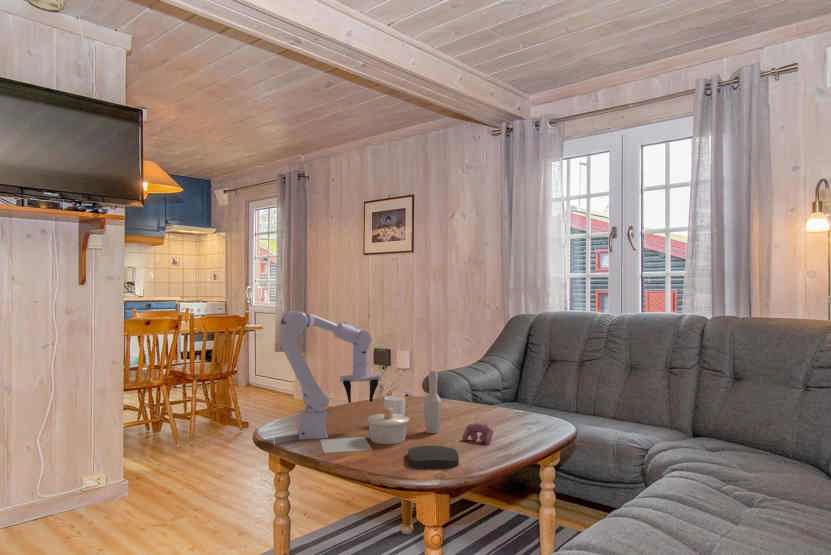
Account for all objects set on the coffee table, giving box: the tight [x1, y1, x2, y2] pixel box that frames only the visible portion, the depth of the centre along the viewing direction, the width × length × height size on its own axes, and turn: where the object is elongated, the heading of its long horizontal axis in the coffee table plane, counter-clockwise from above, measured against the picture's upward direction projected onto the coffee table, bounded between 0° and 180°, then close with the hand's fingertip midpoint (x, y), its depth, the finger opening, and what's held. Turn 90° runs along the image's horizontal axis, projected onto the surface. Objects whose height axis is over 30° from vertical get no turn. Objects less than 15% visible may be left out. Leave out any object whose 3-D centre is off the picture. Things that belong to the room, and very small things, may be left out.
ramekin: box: [367, 421, 409, 445], centre depth 189 cm, size 13×13×7 cm
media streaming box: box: [407, 445, 460, 469], centre depth 169 cm, size 15×15×3 cm
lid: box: [366, 407, 410, 426], centre depth 189 cm, size 14×14×4 cm
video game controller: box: [461, 422, 494, 446], centre depth 190 cm, size 10×5×7 cm, turn 60°
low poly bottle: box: [423, 369, 443, 434], centre depth 201 cm, size 6×6×22 cm
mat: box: [319, 436, 373, 454], centre depth 183 cm, size 15×15×1 cm
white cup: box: [383, 395, 406, 415], centre depth 211 cm, size 8×8×10 cm
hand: (360, 401), depth 201 cm, fingers open, 7 cm apart
